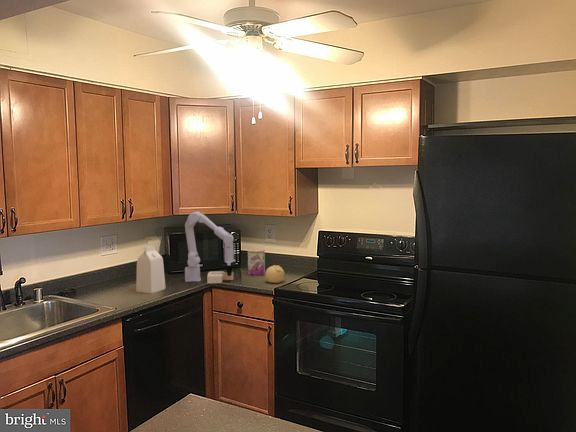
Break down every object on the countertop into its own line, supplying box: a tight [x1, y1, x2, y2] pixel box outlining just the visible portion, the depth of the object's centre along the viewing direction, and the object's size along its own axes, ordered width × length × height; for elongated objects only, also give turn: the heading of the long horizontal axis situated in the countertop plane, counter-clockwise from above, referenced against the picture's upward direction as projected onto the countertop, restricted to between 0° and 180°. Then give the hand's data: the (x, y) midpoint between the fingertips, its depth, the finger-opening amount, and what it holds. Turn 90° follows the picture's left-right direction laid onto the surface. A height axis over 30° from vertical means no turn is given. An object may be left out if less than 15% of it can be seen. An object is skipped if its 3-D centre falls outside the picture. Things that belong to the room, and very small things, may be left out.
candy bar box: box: [247, 249, 266, 276], centre depth 314 cm, size 11×5×16 cm, turn 84°
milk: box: [135, 245, 166, 294], centre depth 274 cm, size 12×12×26 cm
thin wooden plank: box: [211, 271, 235, 281], centre depth 297 cm, size 14×1×5 cm, turn 95°
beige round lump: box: [264, 264, 285, 284], centre depth 291 cm, size 12×12×11 cm
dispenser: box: [206, 270, 225, 284], centre depth 297 cm, size 10×14×4 cm
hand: (229, 274), depth 298 cm, fingers open, 7 cm apart
